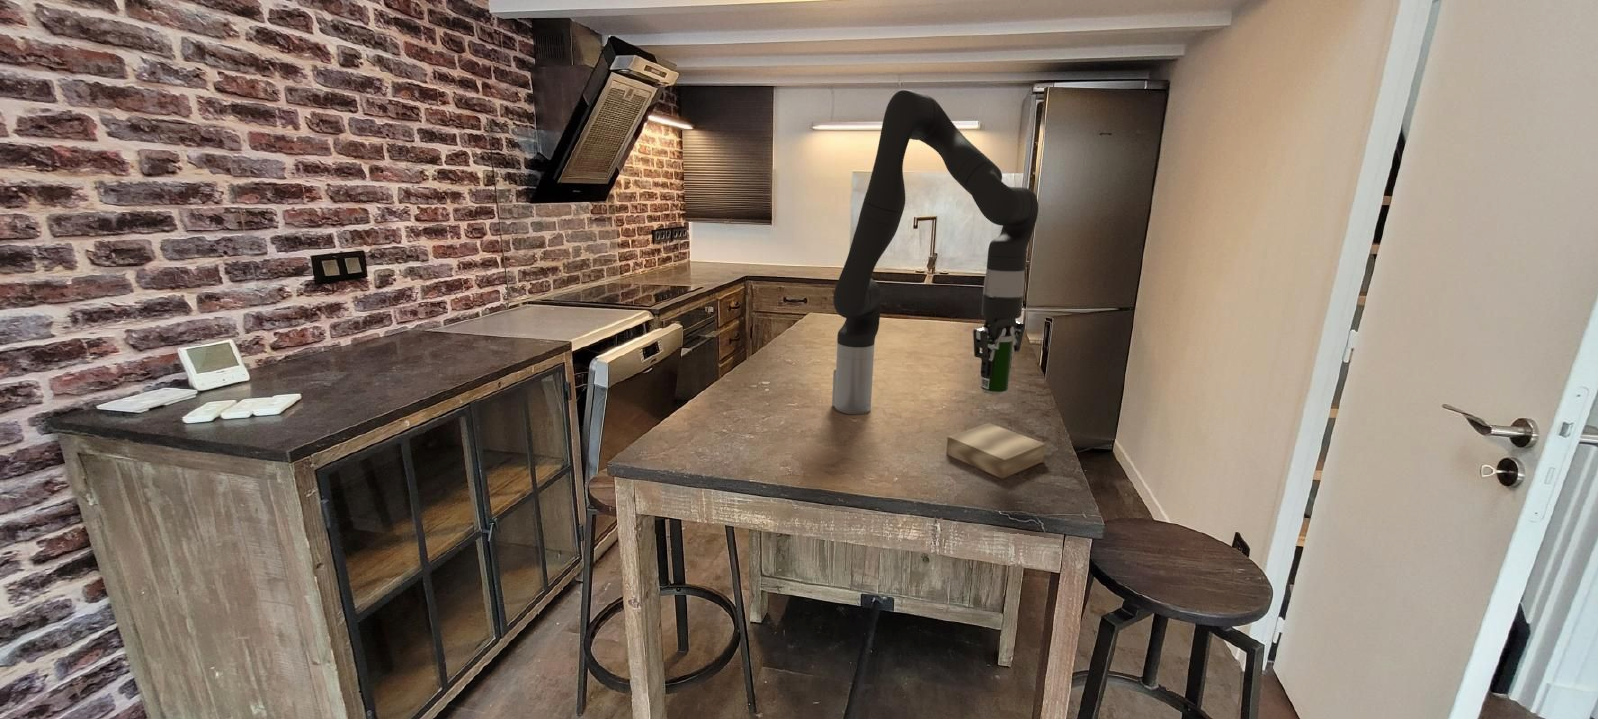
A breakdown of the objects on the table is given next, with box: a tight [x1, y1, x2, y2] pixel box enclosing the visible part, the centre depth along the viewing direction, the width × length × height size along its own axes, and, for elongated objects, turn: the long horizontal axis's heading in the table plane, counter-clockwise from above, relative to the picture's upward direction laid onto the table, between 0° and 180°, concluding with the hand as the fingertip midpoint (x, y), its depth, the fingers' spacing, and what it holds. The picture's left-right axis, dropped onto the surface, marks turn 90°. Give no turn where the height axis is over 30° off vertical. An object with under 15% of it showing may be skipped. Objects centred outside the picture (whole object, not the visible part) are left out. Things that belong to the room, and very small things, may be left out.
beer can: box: [980, 334, 1013, 396], centre depth 124 cm, size 5×5×12 cm
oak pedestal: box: [945, 422, 1046, 479], centre depth 129 cm, size 14×14×4 cm
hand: (995, 374), depth 125 cm, fingers closed on beer can, 5 cm apart
